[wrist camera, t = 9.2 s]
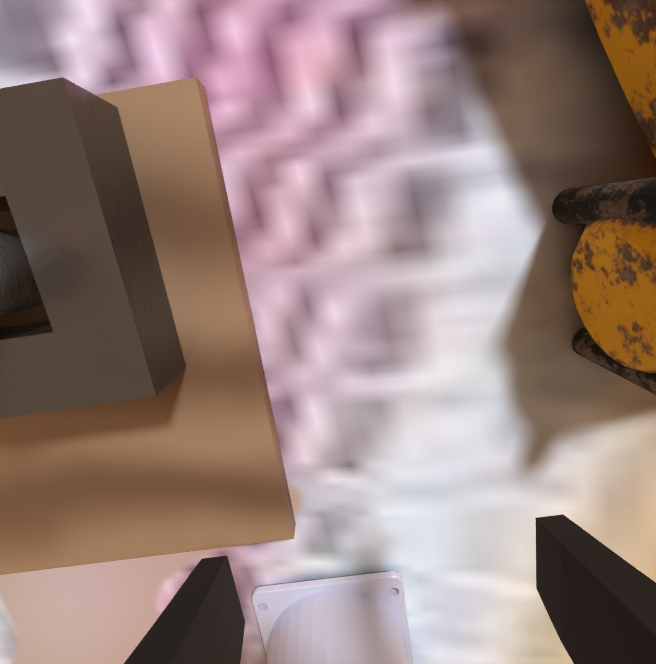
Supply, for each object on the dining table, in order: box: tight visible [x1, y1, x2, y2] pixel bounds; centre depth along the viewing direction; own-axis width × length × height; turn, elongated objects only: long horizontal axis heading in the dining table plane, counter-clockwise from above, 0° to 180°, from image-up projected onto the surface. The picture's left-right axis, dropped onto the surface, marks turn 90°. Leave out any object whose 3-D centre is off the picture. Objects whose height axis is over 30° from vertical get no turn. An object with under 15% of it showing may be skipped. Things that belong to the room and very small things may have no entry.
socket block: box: [0, 78, 186, 418], centre depth 14 cm, size 10×10×3 cm
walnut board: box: [0, 77, 296, 575], centre depth 17 cm, size 20×16×1 cm
